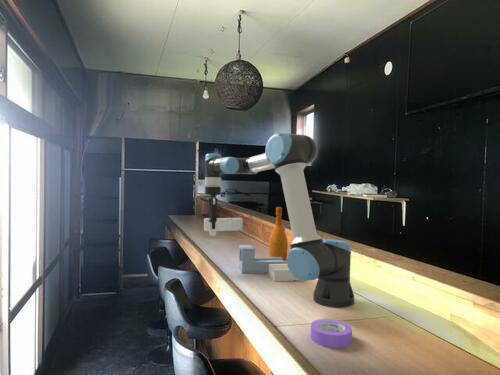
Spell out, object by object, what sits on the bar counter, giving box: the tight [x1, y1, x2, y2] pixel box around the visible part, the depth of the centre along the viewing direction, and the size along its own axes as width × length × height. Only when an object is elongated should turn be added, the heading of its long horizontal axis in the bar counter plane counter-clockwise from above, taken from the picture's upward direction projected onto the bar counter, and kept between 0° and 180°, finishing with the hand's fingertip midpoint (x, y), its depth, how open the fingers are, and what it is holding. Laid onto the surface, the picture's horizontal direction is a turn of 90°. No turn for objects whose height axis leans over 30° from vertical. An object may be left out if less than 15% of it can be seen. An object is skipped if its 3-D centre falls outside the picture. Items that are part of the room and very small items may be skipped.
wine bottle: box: [268, 206, 288, 261], centre depth 202 cm, size 10×10×30 cm
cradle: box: [268, 264, 299, 282], centre depth 172 cm, size 11×11×5 cm
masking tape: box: [310, 318, 353, 349], centre depth 108 cm, size 12×12×4 cm
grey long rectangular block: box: [203, 217, 244, 232], centre depth 180 cm, size 18×6×6 cm, turn 101°
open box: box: [238, 244, 287, 274], centre depth 185 cm, size 10×22×12 cm, turn 101°
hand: (212, 234), depth 179 cm, fingers closed on grey long rectangular block, 5 cm apart
